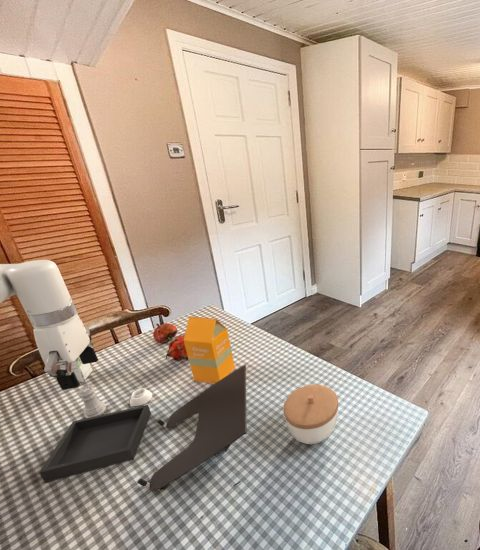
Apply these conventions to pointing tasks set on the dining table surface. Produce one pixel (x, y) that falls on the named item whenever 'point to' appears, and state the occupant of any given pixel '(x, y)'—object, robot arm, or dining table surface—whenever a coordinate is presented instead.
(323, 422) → the lidded bowl
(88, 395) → the rook chess piece
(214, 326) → the orange juice
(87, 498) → the dining table surface
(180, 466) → the laptop stand
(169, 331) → the pomegranate
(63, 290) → the robot arm
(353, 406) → the dining table surface
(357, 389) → the dining table surface
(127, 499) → the dining table surface
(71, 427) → the black tray
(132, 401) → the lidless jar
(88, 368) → the syrup box
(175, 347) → the dragon fruit
